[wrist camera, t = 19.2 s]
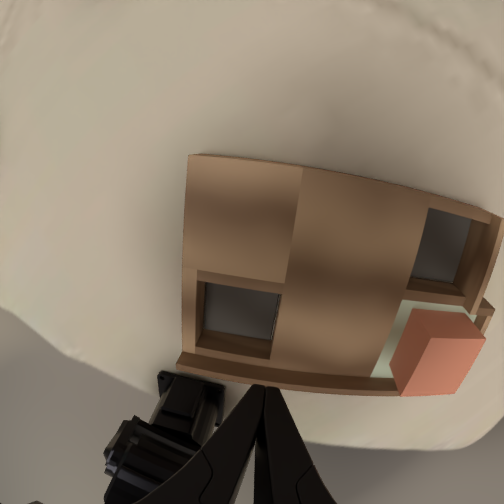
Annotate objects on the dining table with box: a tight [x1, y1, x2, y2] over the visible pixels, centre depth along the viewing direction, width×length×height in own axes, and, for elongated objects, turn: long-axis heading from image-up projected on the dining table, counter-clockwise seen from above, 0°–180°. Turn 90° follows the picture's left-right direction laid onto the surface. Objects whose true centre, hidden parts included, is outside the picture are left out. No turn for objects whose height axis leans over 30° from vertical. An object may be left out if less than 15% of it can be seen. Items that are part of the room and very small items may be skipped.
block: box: [389, 308, 486, 397], centre depth 17 cm, size 5×5×4 cm
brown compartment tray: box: [176, 154, 504, 396], centre depth 18 cm, size 15×23×4 cm, turn 84°
